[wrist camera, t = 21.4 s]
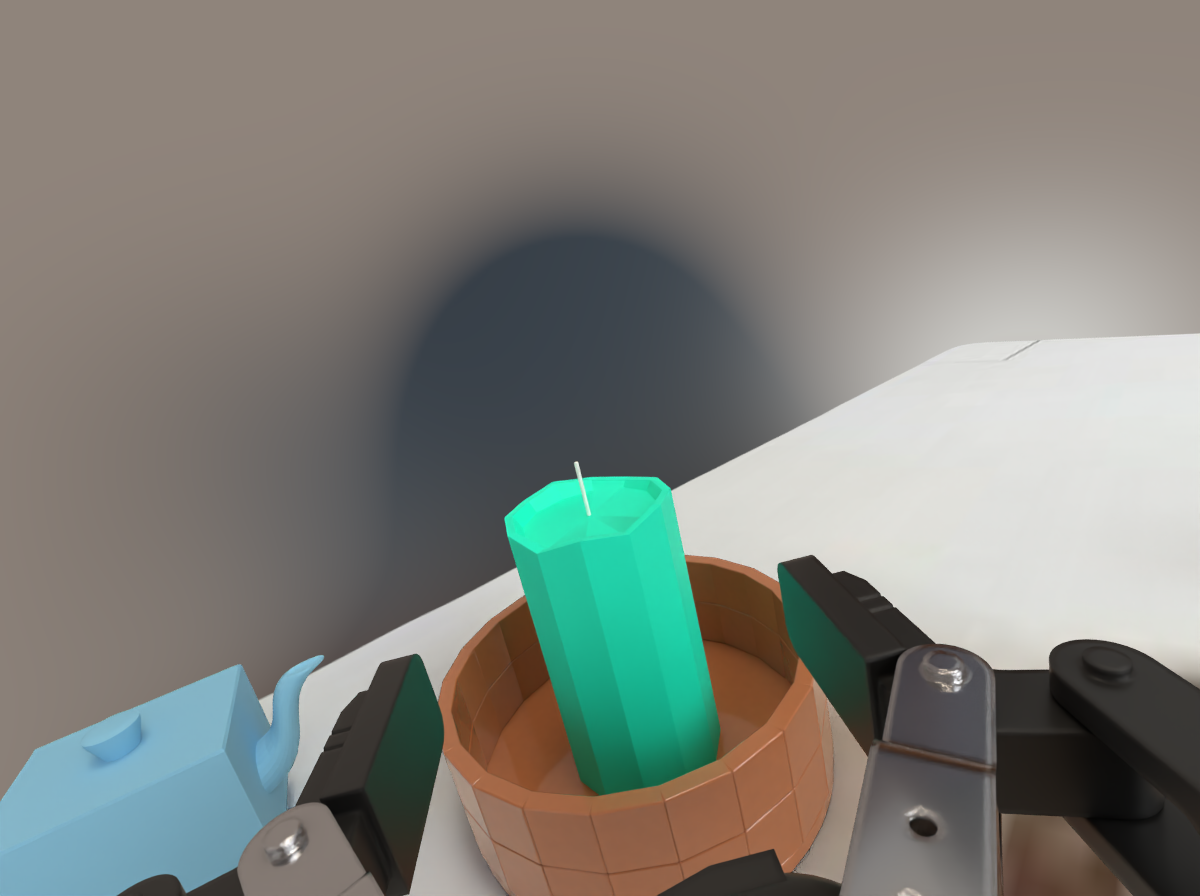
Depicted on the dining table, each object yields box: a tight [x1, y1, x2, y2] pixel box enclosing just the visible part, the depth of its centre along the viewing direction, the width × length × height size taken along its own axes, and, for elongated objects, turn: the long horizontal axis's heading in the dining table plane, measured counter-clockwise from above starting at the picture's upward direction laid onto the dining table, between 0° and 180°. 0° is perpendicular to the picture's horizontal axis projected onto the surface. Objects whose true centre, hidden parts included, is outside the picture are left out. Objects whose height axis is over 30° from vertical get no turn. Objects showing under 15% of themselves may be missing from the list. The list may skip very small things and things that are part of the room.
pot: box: [438, 555, 834, 896], centre depth 23 cm, size 14×14×5 cm
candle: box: [505, 462, 721, 795], centre depth 22 cm, size 6×6×12 cm
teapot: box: [0, 655, 324, 896], centre depth 22 cm, size 12×6×8 cm, turn 117°
